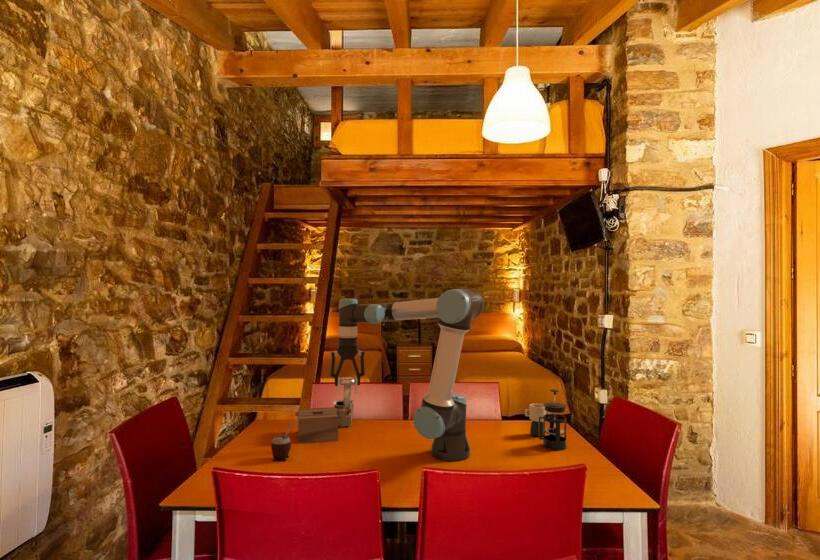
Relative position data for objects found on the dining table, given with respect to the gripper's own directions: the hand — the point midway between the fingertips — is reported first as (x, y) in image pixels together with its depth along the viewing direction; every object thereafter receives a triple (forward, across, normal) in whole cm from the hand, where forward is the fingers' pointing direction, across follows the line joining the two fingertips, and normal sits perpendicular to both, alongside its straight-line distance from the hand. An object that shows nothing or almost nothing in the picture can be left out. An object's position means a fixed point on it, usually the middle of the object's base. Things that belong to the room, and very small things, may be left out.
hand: (347, 393), depth 195 cm
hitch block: (+21, +11, -15) cm, 28 cm away
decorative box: (+21, -1, -35) cm, 41 cm away
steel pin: (+5, 0, 0) cm, 5 cm away
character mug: (+21, -83, +3) cm, 86 cm away
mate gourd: (+21, +25, +10) cm, 34 cm away
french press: (+21, -82, +18) cm, 87 cm away
